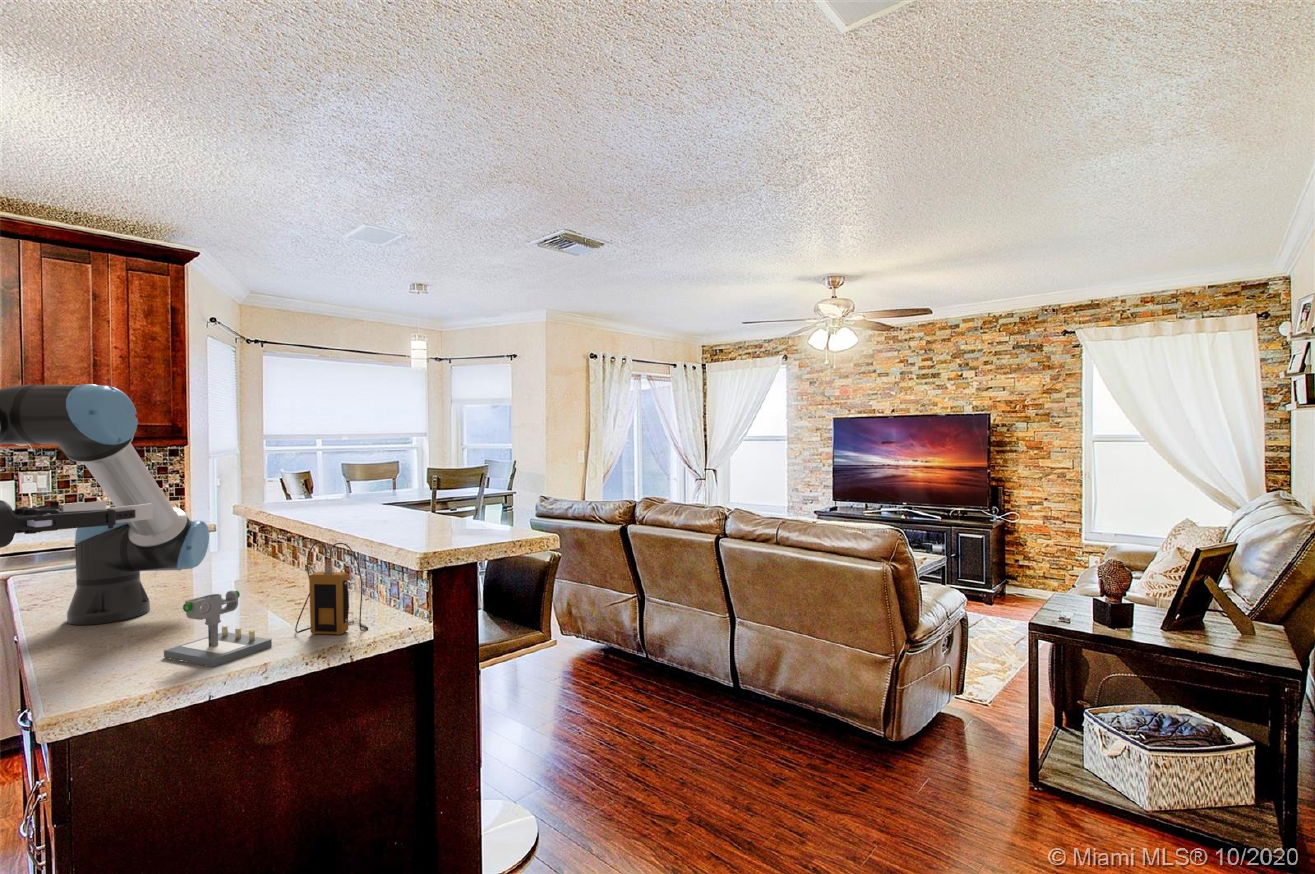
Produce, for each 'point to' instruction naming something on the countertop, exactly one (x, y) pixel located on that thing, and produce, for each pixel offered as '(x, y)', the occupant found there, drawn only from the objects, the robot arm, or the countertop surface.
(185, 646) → the board
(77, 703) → the countertop surface
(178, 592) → the countertop surface
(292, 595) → the countertop surface
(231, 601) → the mechanical component
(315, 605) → the multimeter
